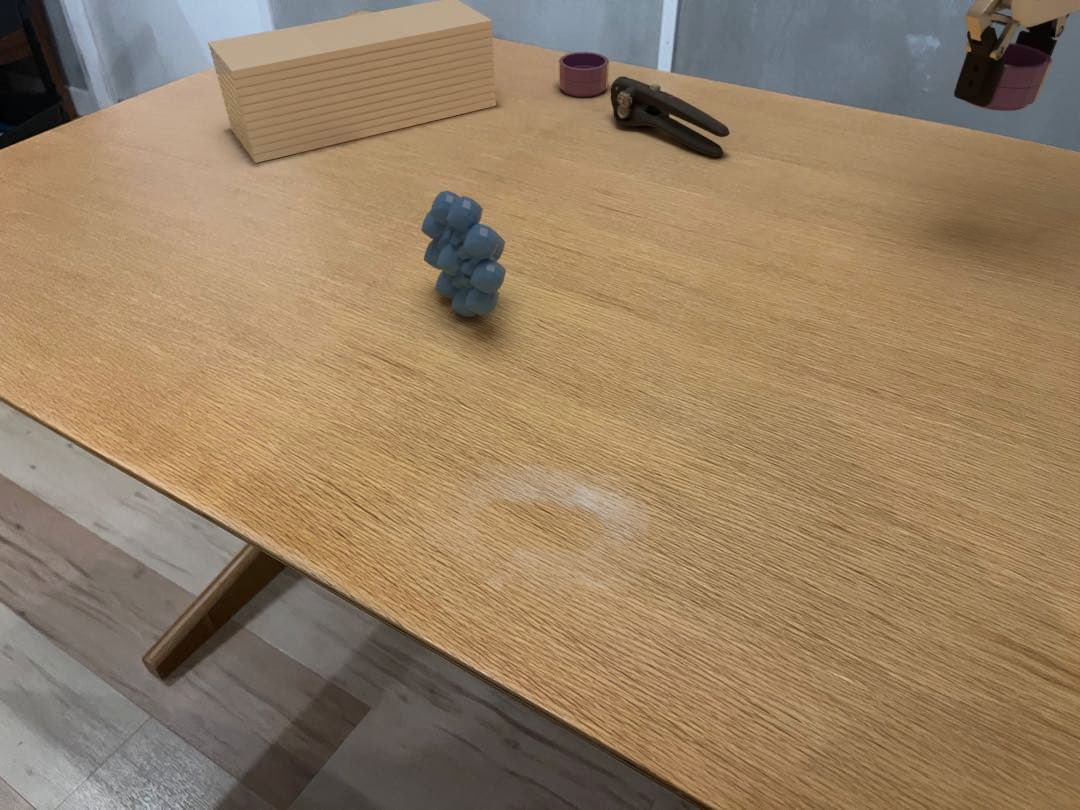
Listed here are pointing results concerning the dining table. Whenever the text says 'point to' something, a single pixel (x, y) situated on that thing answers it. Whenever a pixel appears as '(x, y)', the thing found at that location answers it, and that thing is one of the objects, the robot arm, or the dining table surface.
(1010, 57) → the plum dish
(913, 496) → the dining table surface
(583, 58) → the plum dish
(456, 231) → the grapes
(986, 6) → the robot arm
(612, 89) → the can opener
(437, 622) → the dining table surface
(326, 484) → the dining table surface
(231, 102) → the tan ribbed wooden block
